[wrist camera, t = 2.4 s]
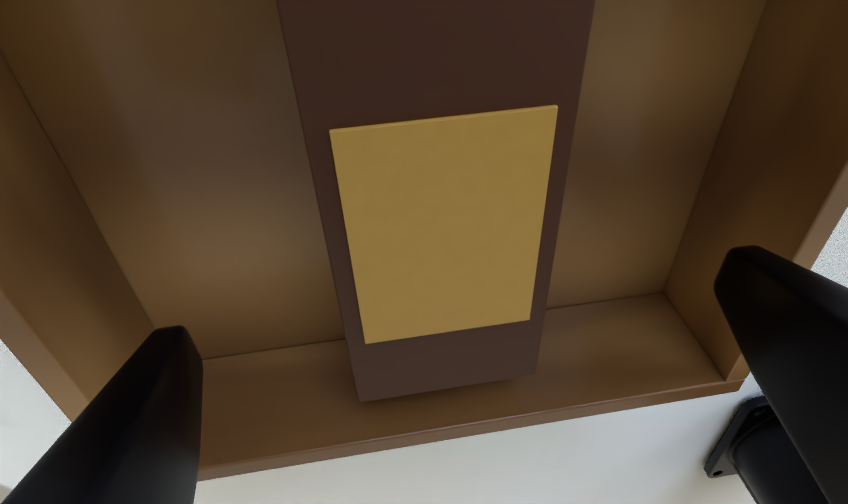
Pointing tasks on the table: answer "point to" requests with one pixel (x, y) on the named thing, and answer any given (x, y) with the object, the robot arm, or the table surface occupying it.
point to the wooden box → (303, 233)
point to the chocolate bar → (438, 175)
